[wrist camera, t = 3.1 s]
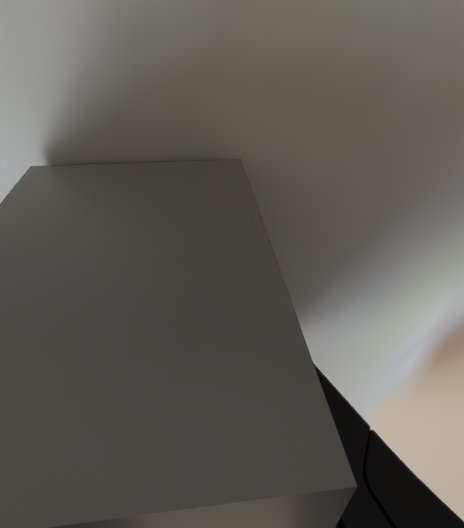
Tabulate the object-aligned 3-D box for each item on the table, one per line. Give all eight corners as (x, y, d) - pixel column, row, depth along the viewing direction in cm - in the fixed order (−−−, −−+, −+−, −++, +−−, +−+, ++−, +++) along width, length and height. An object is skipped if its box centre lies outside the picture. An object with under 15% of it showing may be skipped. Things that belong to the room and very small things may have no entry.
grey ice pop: (232, 433, 14) (261, 662, 9) (126, 445, 13) (99, 691, 9) (240, 159, 7) (356, 487, 3) (30, 166, 7) (-298, 573, 2)
